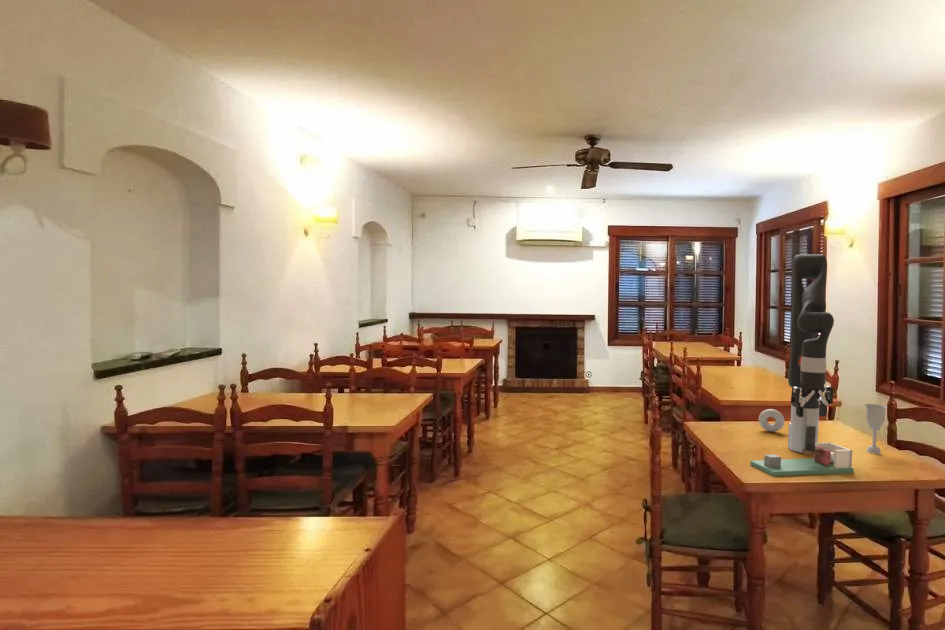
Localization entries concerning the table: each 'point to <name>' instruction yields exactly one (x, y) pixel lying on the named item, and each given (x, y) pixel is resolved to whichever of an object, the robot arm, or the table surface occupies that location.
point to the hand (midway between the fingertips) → (811, 416)
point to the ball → (832, 458)
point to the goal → (838, 454)
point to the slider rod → (819, 453)
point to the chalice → (875, 423)
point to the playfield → (795, 466)
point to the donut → (771, 413)
